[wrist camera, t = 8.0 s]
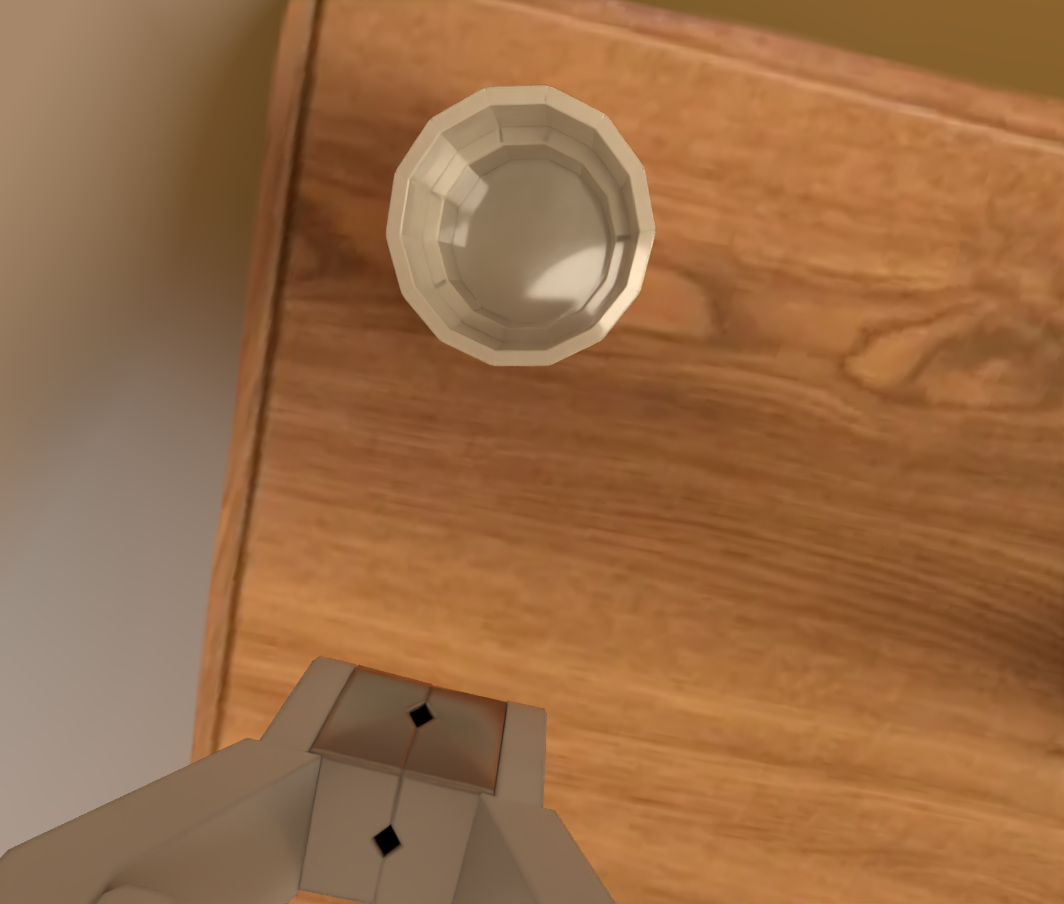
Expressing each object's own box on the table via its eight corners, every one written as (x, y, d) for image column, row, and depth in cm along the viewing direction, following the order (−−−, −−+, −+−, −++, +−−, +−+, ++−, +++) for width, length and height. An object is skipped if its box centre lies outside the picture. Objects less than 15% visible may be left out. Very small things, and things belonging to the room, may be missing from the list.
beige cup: (415, 325, 21) (369, 337, 16) (451, 110, 19) (411, 54, 15) (605, 368, 21) (614, 394, 16) (658, 156, 19) (686, 115, 15)
